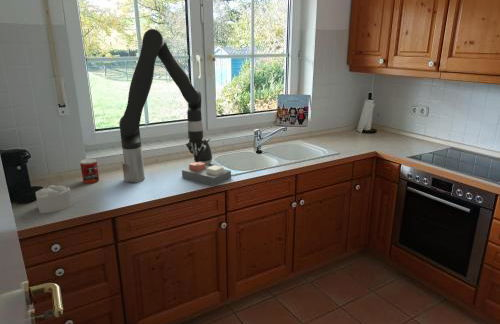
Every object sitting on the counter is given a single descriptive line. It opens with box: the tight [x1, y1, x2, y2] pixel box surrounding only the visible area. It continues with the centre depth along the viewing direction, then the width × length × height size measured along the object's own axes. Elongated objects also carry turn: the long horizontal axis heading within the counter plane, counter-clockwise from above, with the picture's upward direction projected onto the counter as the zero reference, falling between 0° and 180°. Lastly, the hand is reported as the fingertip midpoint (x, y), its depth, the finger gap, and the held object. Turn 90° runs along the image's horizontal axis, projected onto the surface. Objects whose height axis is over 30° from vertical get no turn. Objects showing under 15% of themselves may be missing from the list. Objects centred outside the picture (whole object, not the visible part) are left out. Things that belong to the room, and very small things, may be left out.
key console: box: [181, 165, 232, 186], centre depth 189 cm, size 13×22×4 cm, turn 55°
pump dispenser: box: [199, 138, 213, 166], centre depth 209 cm, size 10×10×15 cm
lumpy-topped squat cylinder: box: [35, 184, 74, 214], centre depth 156 cm, size 10×13×9 cm
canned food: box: [79, 158, 100, 185], centre depth 185 cm, size 8×8×11 cm
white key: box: [207, 164, 224, 176], centre depth 185 cm, size 6×6×4 cm
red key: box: [188, 161, 206, 171], centre depth 192 cm, size 6×6×4 cm
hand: (197, 161), depth 191 cm, fingers closed
